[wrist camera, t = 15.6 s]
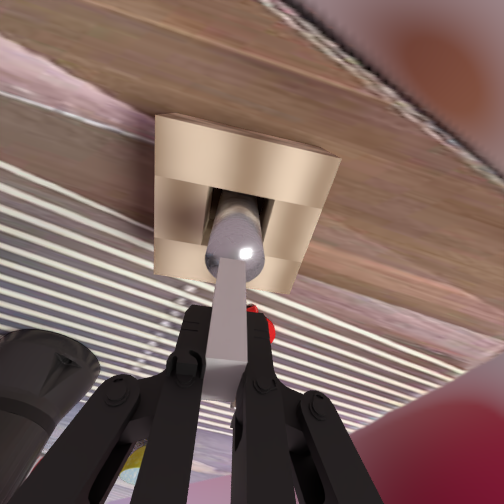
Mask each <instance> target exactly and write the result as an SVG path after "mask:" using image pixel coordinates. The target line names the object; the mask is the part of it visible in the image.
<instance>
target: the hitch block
mask: <svg viewBox="0 0 504 504" xmlns="http://www.w3.org/2000/svg"><path fill="white" fill-rule="evenodd" d="M340 162H341V158H339V157H337V156H336V155H334V154H332V153H330V152H328V151H326V150H325V149H323V148H321V147H317V146H313V145H309V144H304V143H300V142H296V141H292V140H288V139H284V138H279V137H275V136H271V135H267V134H263V133H259V132H254V131H250V130H246V129H242V128H238V127H233V126H229V125H225V124H221V123H217V122H213V121H208V120H204V119H200V118H196V117H192V116H188V115H183V114H179V113H168V114H159V115H155V184H154V274H156V275H163V276H170V277H176V278H183V279H189V280H196V281H203V282H209V283H216V278H215V277H213V276H212V275H211V274H210V272H209V271H208V269H207V267H206V264H205V254H206V250H207V246H208V242H209V238H210V234H211V231H212V227H213V223H214V220H211V219H209V216H210V209H211V201H212V194H213V187H215V188H220V189H225V190H230V191H235V192H240V193H245V194H250V195H255V196H260V197H265V198H264V202H263V206H262V210H261V214H260V218H259V219H260V226H261V234H262V241H263V248H264V255H265V264H264V267H263V269H262V271H261V273H260V274H259V275H258V276H257V277H256V278H255V279H253V280H251V281H249V282H247V283H246V288H249V289H256V290H262V291H269V292H276V293H282V294H290V291H291V289H292V286H293V283H294V281H295V278H296V276H297V273H298V271H299V268H300V265H301V263H302V260H303V258H304V255H305V252H306V250H307V247H308V245H309V242H310V239H311V237H312V234H313V232H314V229H315V227H316V224H317V221H318V219H319V216H320V214H321V211H322V208H323V206H324V203H325V201H326V198H327V195H328V193H329V190H330V188H331V185H332V183H333V180H334V177H335V175H336V172H337V170H338V167H339V164H340Z"/></svg>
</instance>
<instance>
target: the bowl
mask: <svg viewBox="0 0 504 504" xmlns="http://www.w3.org/2000/svg"><path fill="white" fill-rule="evenodd" d="M146 444H147V442H146ZM145 448H146V445H145V446H143V447H141V448H139V449H137V450H136V451H135V452H134V453H132V454H131V456H130V457H129V458H128V459H127V461H126V463H125V465H124V467H123V469H122V471H121V472H120V474H119V476H120V478H121V479H122V480H123V481H125V482H127V483H129V484H132V485H135V483H136V480H137V476H138V473H139V469H140V466H141V462H142V459H143V455H144V451H145Z"/></svg>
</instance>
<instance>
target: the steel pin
mask: <svg viewBox="0 0 504 504" xmlns="http://www.w3.org/2000/svg"><path fill="white" fill-rule="evenodd" d="M220 257H222V258H228V259H235V260H241V261H245V263H246V283H247V282H249V281H251V280H253V279H255V278H256V277H257V276H258V275H259V274H260V273H261V271H262V269H263V267H264V264H265V255H264V248H263V241H262V234H261V226H260V219H259V212H258V205H257V198H256V196H255V195H250V194H245V193H240V192H235V191H230V190H225V189H224V190H223V191H222V193H221V196H220V200H219V204H218V208H217V212H216V215H215V219H214V223H213V227H212V231H211V234H210V238H209V242H208V246H207V250H206V254H205V264H206V267H207V269H208V271H209V272H210V274H211V275H212V276H213V277H215V278H216V279H217V273H218V267H219V262H220Z"/></svg>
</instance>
